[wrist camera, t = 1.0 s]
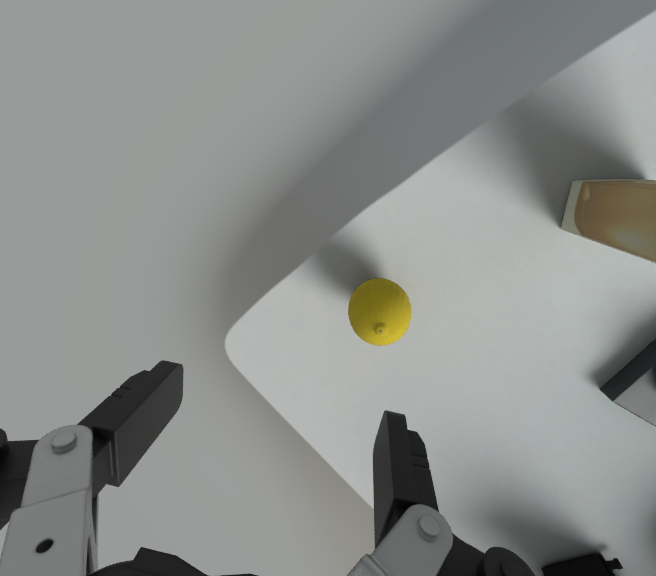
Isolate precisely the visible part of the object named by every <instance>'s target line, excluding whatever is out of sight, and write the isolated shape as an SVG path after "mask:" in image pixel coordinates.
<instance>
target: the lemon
mask: <svg viewBox="0 0 656 576" xmlns="http://www.w3.org/2000/svg"><path fill="white" fill-rule="evenodd" d="M348 315H349V319H350V323H351V326H352V327H353V329H354V331H355V333H356V334H357V335H358V336H359V337H360V338H361V339H362V340H364V341H365V342H367V343H370V344H373V345H379V346H380V345H388V344H391V343H394V342H395V341H397V340H399V339H400V338H401V337H402V336H403V335H404V333H405V332H406V330H407V328H408V326H409V323H410V319H411V305H410V302H409V299H408V296H407V295H406V293H405V292H404V290H403V289H402V288H401V287H400V286H399V285H398V284H396V283H394V282H392V281H390V280H387V279H383V278H375V279H371V280H368V281H366V282H364V283H362V284H361V285H360V286H359V287H358V288H356V290H355V291H354V293H353V294H352V296H351V299H350V302H349V309H348Z"/></svg>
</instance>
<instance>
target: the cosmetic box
mask: <svg viewBox="0 0 656 576" xmlns="http://www.w3.org/2000/svg"><path fill="white" fill-rule="evenodd" d="M561 229H562V230H564V231H567V232H570V233H572V234H575V235H578V236H581V237H584V238H587V239H589V240H592V241H595V242H598V243H601V244H603V245H606V246H609V247H612V248H615V249H617V250H620V251H623V252H626V253H629V254H631V255H634V256H637V257H640V258H643V259H646V260H648V261H651V262H654V263H656V180H632V179H604V180H577V181H573V182H572V185H571V189H570V193H569V196H568V200H567V204H566V208H565V213H564V217H563V221H562V226H561Z"/></svg>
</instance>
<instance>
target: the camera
mask: <svg viewBox="0 0 656 576" xmlns="http://www.w3.org/2000/svg"><path fill="white" fill-rule="evenodd" d="M622 568H623V567H622V566H621V564H620V562H619V561H618V559H617V558H614V560H611V561H606V560H605V559H604V557H603V556H602V555H601V554H599V555H598V554H597V555H593V556H589V557H585V558H581V559H577V560H573V561H569V562H565V563H561V564H558V565H554V566H550V567H546V568H541V569H542V572H543V574H544V576H615V574H614V573H613V571H612V570H613V569H618V570H619V569H622Z"/></svg>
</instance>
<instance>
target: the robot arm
mask: <svg viewBox="0 0 656 576" xmlns="http://www.w3.org/2000/svg"><path fill="white" fill-rule="evenodd" d="M182 396H183V366H182V364H178V363H173V362H169V361H164V360H163V361H160V362H159V363H158V364H157V365H156V366H155V367H154V368H153V369H152V370H151V371H146V370H144V371H142V372H140V373H138V374H136V375H134V376H131V377H130V378H129V379H128V380H127V381H125V382H124V383H123V384H122V385H121V386H120V388H117V389H116V390H115V391H114V392H113V393H112V394H111V396H109V397H107V398H106V399H105V400H104V401H103V402H102V403H101V404H100V405H98V406H97V407H96V408H95V409H94V410H93V411H92V412H91V413H90V414H88V415H87V416H86V417H85V418H84V419H83V420H82V421H81V422H80V423H78V424H77V425H69V426H64V427H61V428H58V429H55V430H53V431H51V432H49V433H48V434H46V435H45V436H43V437H42V438H41V439H40V440H27V441H7V435H6V433H5V431H3V430H2V429H0V530H1V529H2V528H3V527H4V526H5V525H6V524H7V523H8V522H9V525H8V529H7V533H6V537H5V541H4V545H3V550H2V554H1V558H0V576H208V575H206V574H204V573H202V572H201V571H199V570H198V569H196V568H195V567H193V566H191V565H190V564H188V563H187V562H185V561H184V560H182V559H181V558H179V557H178V556H176V555H171V554H168V553H163V552H159V551H155V550H151V549H147V548H143V547H141V548H140V550H139V551H138V553H137V555H136V556H135V558H134V560H131V561H125V562H120V563H116V564H113V565H109V566H107V567H104V568H102V569H100V570H98V557H97V556H98V554H97V553H98V511H99V495H98V493H99V492H100V491H101V490H102V488H103V487H104V486H105V485H106V484H109V485H113V486H117V487H119V486H120V485H121V484H122V482H123V481H124V480H125V478H126V477H127V476H128V474H129V473H130V472H131V471H132V469H133V468H134V467H135V466H136V464H137V463H138V462H139V460H140V459H141V458H142V456H143V455H144V454H145V453H146V451H147V450H148V448H149V447H150V446H151V445H152V443H153V442H154V441H155V440H156V438H157V437H158V436H159V434H160V433H161V432H162V430H163V429H164V428H165V427H166V425H167V424H168V423H169V421H170V420H171V419H172V417H173V416H174V415H175V413H176V412H177V411H178V409H179V407H180V404H181V401H182ZM373 482H374V525H375V550H374V552H373V553H372V554H371V555H368V554H366V555H364V556H363V557H362V558H361V559H360V561H359V562H358V563H357V564H356V565H355V566H354V568H353V569H352V570H351V571H350V572H349V574H348V575H347V576H535V575H534V573H533V572H532V570H531V569H530V568H529V566H528V565H527V564H526V563H525V562H524V561H523V560H522V559H521V558H520V557H519V556H517V555H516V554H514V553H513V552H511V551H509V550H508V549H505V548H502V547H492V548H490V549H488V550H487V551H486V553H483V552H481V551H479V550H478V549H476V548H474V547H472V546H471V545H469V544H467V543H465V542H464V541H462V540H460V539H459V538H458V537H456V536H455V535H454V534H453V533H452V531H451V528H450V526H449V524H448V523H447V521H446V520H445V518H444V517H443V516H442V515H441V514H440V513H439V510H438V505H437V501H436V496H435V491H434V486H433V482H432V477H431V472H430V470H429V462H428V459H427V453H426V448H425V444H424V442H423V441H422V439H421V438H420V436H419V434H418V433H417V432H415V431H410V430H407V423H406V417H405V415H404V414H399V413H395V412H390V411H386V410H385V411H384V414H383V417H382V420H381V423H380V427H379V430H378V433H377V436H376V440H375V444H374V450H373ZM9 520H10V521H9ZM223 576H257V575H253V574H240V575H223Z"/></svg>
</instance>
